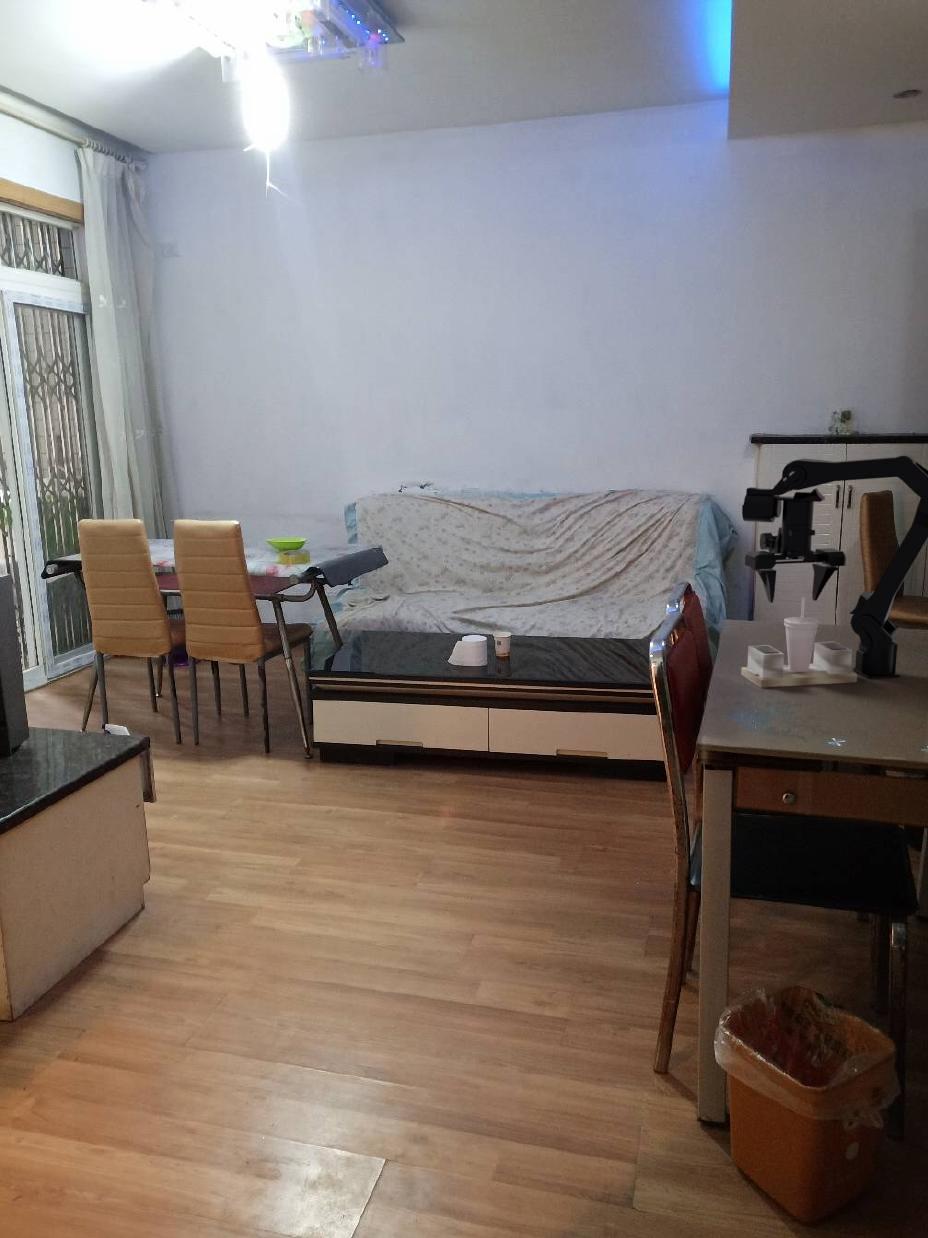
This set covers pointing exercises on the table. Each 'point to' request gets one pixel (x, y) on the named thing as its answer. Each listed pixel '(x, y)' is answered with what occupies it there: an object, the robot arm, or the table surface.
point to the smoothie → (800, 640)
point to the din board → (825, 669)
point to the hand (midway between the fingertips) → (792, 601)
